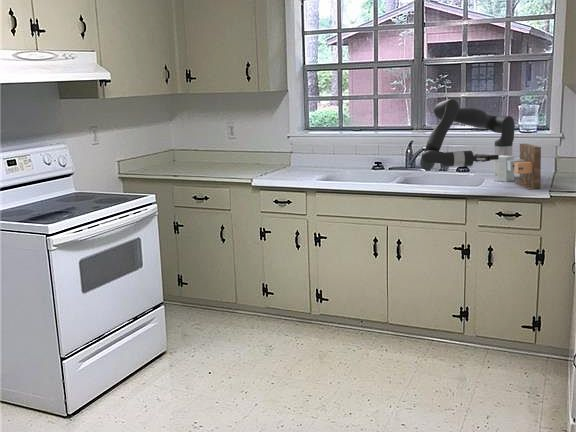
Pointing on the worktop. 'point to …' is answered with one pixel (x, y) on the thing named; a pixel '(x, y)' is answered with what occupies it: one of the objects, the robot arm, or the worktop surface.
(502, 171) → the small box
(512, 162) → the button one
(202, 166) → the worktop surface
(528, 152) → the walnut board
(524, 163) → the button two
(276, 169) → the worktop surface
